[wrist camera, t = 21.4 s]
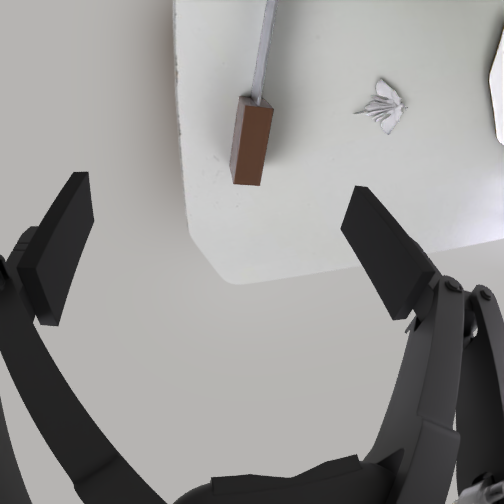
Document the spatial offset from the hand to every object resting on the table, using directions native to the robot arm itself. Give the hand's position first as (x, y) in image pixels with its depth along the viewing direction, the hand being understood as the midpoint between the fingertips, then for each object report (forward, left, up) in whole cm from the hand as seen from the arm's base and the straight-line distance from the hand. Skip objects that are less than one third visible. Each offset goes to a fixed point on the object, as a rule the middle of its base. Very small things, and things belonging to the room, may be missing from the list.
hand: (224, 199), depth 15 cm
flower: (+21, +2, -24) cm, 32 cm away
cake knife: (+5, +5, -23) cm, 24 cm away
